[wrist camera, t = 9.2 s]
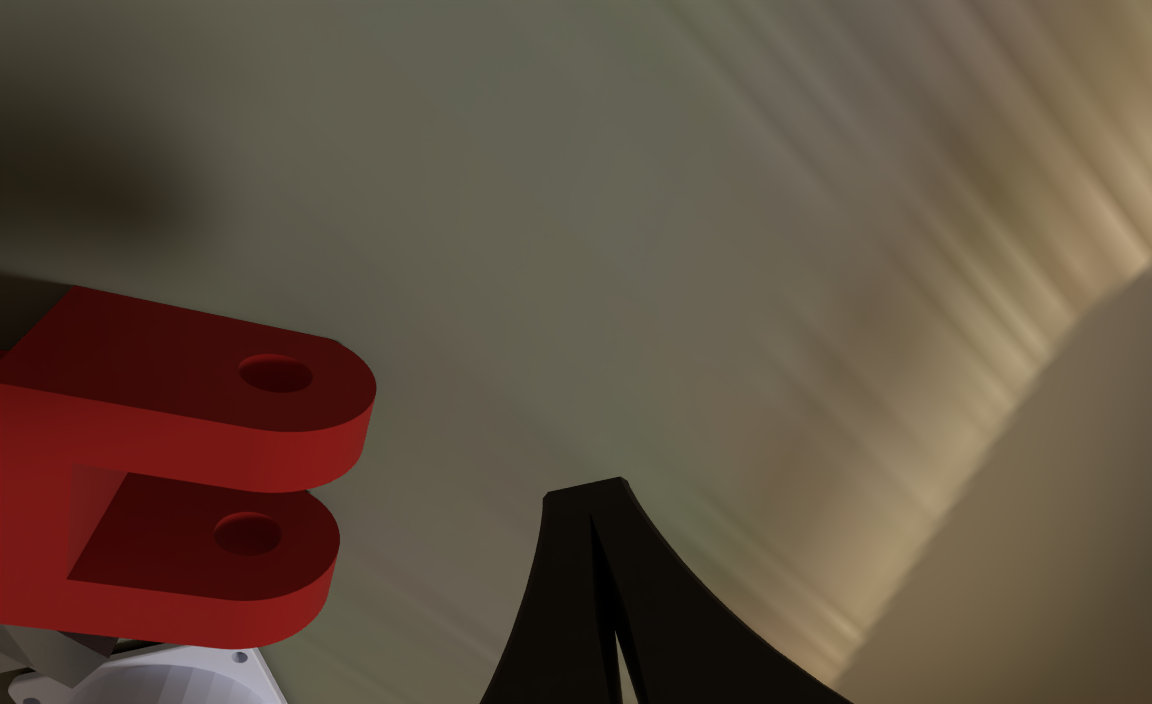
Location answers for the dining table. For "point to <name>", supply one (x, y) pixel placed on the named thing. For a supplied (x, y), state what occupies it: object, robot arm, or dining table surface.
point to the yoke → (54, 652)
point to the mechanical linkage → (171, 472)
